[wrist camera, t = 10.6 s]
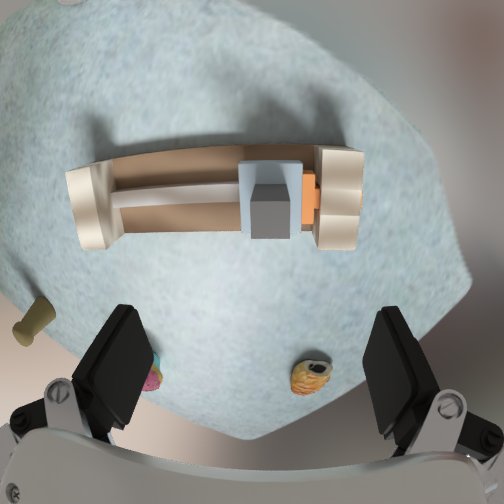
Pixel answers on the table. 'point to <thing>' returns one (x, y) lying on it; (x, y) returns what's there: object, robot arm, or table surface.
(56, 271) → the table surface
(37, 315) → the cork
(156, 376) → the cupcake
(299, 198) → the carriage
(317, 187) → the button
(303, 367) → the pastry
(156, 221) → the rail bench
